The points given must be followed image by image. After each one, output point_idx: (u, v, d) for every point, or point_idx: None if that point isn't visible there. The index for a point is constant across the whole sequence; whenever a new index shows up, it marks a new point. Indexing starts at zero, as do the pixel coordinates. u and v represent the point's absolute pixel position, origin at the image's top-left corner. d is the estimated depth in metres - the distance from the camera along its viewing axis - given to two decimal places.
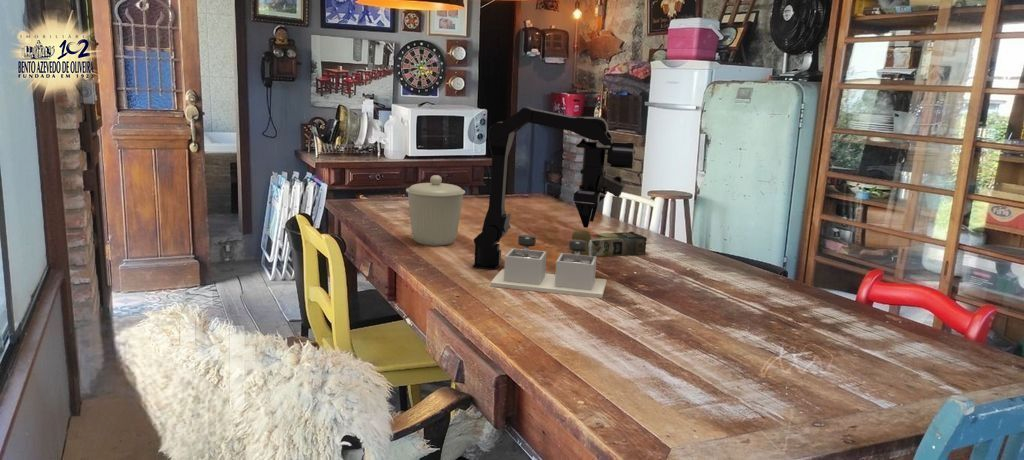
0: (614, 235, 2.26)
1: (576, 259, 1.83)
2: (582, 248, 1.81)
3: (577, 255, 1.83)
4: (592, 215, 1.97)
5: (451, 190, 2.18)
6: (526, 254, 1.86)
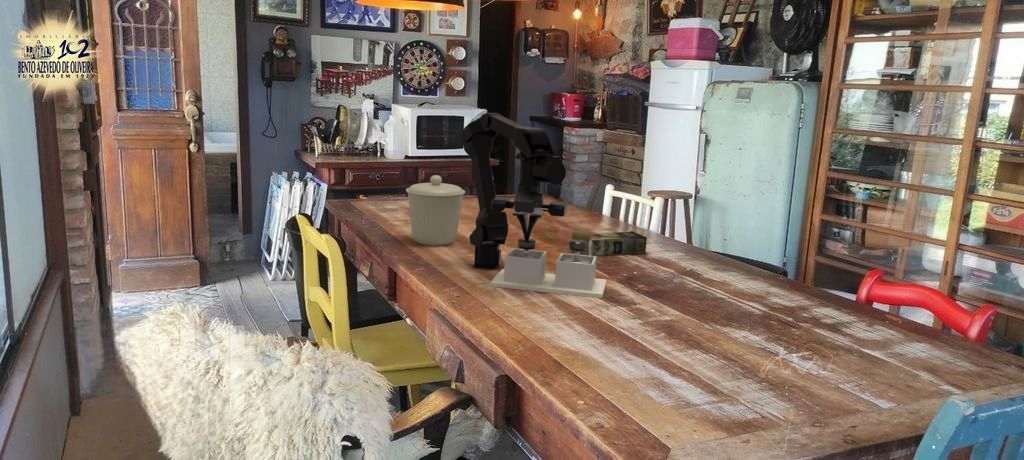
0: (614, 235, 2.27)
1: (576, 259, 1.83)
2: (582, 248, 1.81)
3: (577, 255, 1.83)
4: None
5: (451, 190, 2.18)
6: (526, 257, 1.86)
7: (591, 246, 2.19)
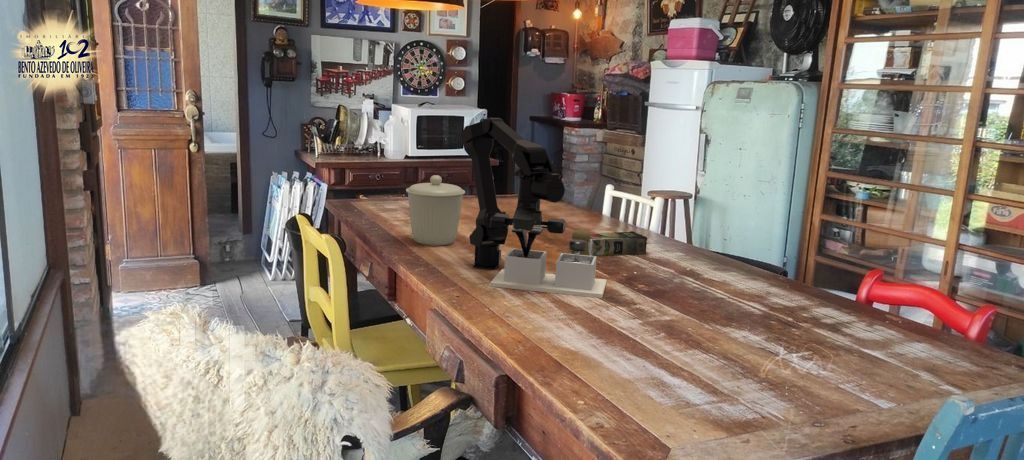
0: (615, 235, 2.27)
1: (576, 259, 1.83)
2: (582, 248, 1.81)
3: (577, 255, 1.83)
4: None
5: (451, 190, 2.18)
6: None
7: (592, 246, 2.19)
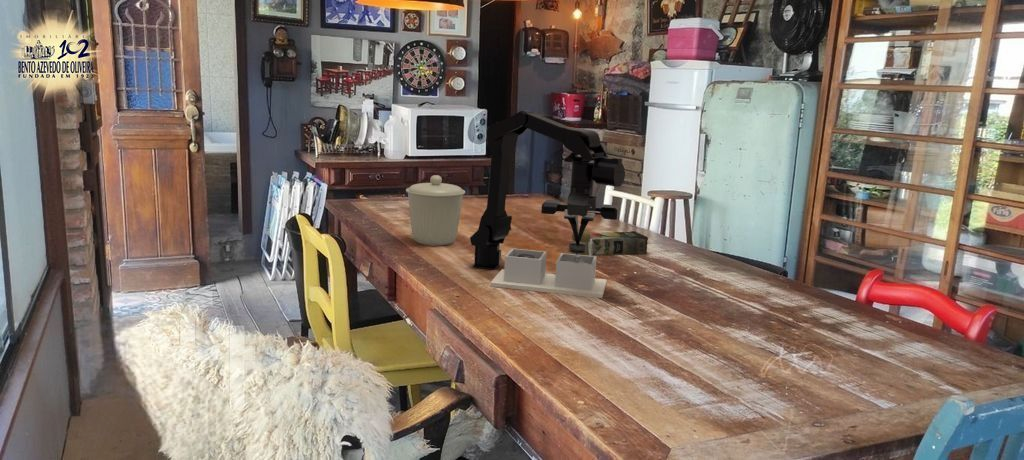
0: (616, 234, 2.27)
1: (576, 261, 1.83)
2: (582, 250, 1.81)
3: (577, 257, 1.83)
4: None
5: (451, 190, 2.18)
6: None
7: (591, 245, 2.19)
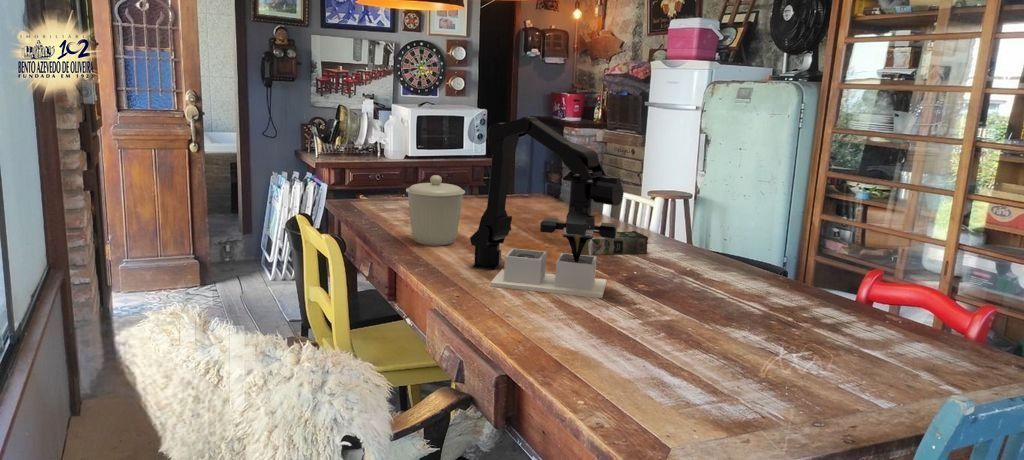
0: (616, 234, 2.28)
1: None
2: None
3: None
4: None
5: (451, 190, 2.18)
6: None
7: (591, 245, 2.20)
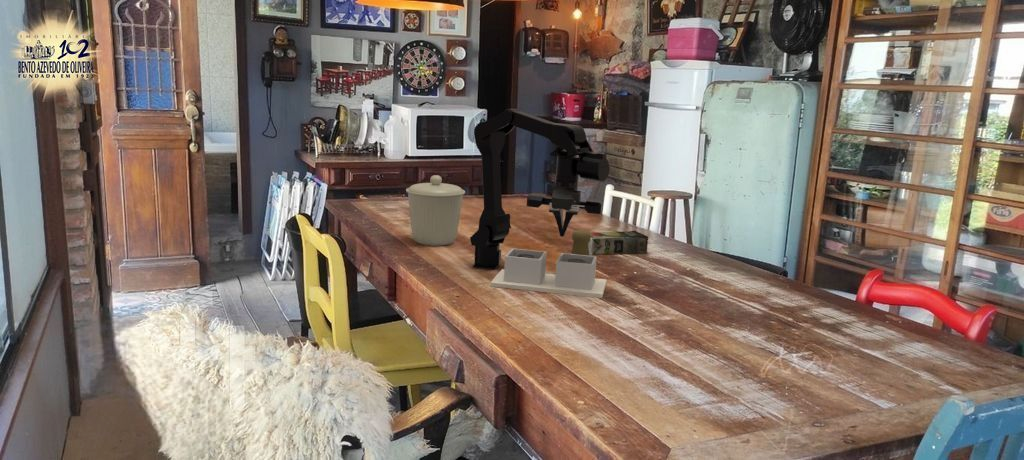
0: (616, 234, 2.28)
1: None
2: None
3: None
4: (562, 230, 1.85)
5: (451, 190, 2.18)
6: None
7: (592, 245, 2.20)
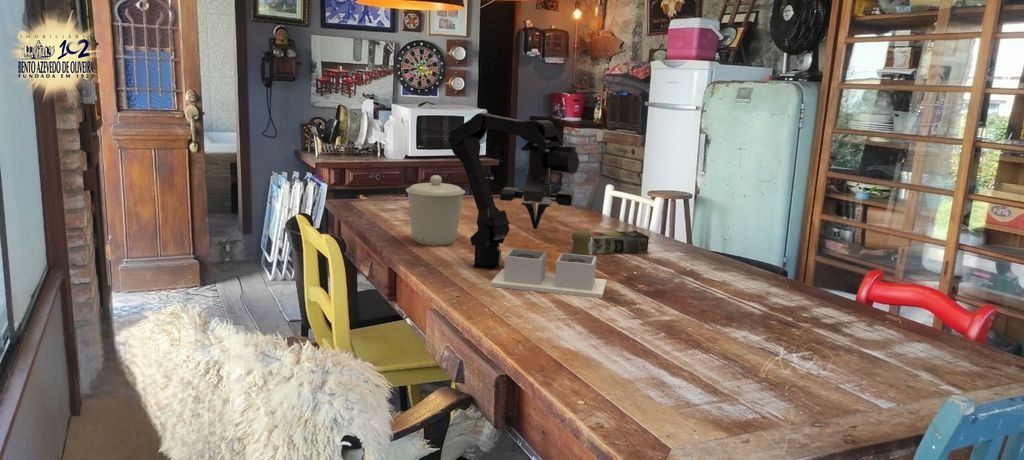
0: (617, 233, 2.29)
1: None
2: None
3: None
4: None
5: (451, 190, 2.18)
6: None
7: (592, 244, 2.21)
